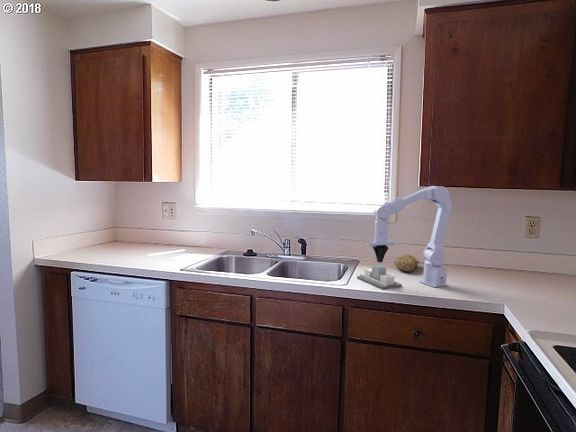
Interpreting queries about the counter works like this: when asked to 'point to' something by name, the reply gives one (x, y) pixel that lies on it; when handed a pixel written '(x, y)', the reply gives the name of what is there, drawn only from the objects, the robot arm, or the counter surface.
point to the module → (378, 272)
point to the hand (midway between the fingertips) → (379, 262)
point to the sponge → (406, 262)
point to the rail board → (384, 282)
